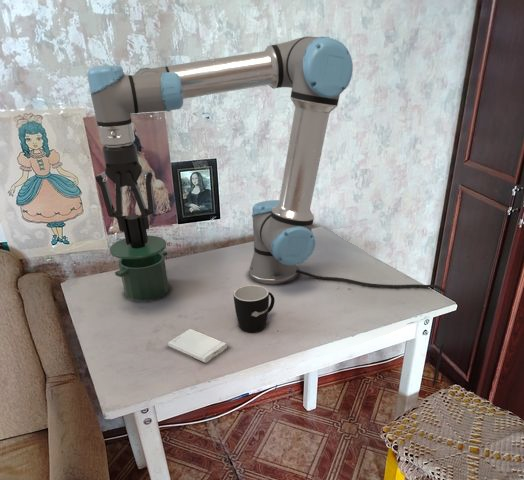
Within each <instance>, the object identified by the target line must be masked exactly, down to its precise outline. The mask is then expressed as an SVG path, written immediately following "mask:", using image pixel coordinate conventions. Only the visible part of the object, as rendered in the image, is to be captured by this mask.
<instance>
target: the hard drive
mask: <svg viewBox="0 0 524 480" xmlns="http://www.w3.org/2000/svg"><path fill="white" fill-rule="evenodd" d="M167 344H168V347H170V348H172V349H174V350H177V351H178V352H181V353H184V354H186V355H188V356H191V357H192V358H194V359H196V360H198V361H200V362H201V363H205V364H206V363H208V362H209V361H211V360H212V359H214V358H215V357H216V356H218V355H220V354H221V353H222V352H224V351H226V350H227V348H228V343H227V342H224V341H222V340H219V339H216V338H214V337H212V336H209V335H207V334H205V333H202V332H199V331H196V330H194V329H193V328H189V329H187V330H186V331H184V332H182V333H181V334H179V335H177V336H175V338H173V339H171V340H170V341H169V342H168V343H167Z"/></svg>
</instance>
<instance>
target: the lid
mask: <svg viewBox="0 0 524 480" xmlns="http://www.w3.org/2000/svg"><path fill="white" fill-rule="evenodd" d="M140 215H141V214H135V213H133V214H128V215H125V216H126V217H125V220H126V225H127V230H128V235H129V240H130V245H127V244H126V239H125V238H123V239H120V240H117V241H115V242H114V243H112V244H111V246H110V247H109V252H110V255H111V256H113V257H114V258H117V259H139V258H145V257H149V256H153V255H156V254H158V253H160V252H161V251H165V249H166V248H167V241H166V240H165V239H164V238H162V237H161V236H157V235H149V234H147V237H148V241H147V243H144V241H143V236H142V230H141V225H140V220H139V218H140Z"/></svg>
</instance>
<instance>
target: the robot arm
mask: <svg viewBox="0 0 524 480" xmlns="http://www.w3.org/2000/svg"><path fill="white" fill-rule="evenodd" d="M353 64H354V63H353V58H352V55H351V53H350V51H349V50H348V47H346V45H345V44H344V43H343V42H342V41H340V40H338V39H336V38H332V37H330V36H311V35H310V36H301V37H298V38H294V39H292V40H289V41H285V42H280V43H277V44H270V45H267V46H266V48H265V50H263V51H256V52H249V53H243V54H236V55H229V56H223V57H217V58H211V59H204V60H198V61H197V60H196V61H190V62H183V63H178V64H170V65H166V66H158V67H153V68H152V67H151V68H150V67H142V68H139V69H138V70H137V71H136V72H134V74H132V75H131V74H125V72H124V69H123V67H122V66H121V65H118V64H117V65H116V64H115V65H99V66H97V65H96V66H91V67H90V68H89V69H88V71H87V81H88V87H89V92H90V98H91V101H92V106H93V111H94V115H95V119H96V125H97V131H98V135H99V140H100V144H102V145H103V146H102V147H101V149H102V154H103V160H104V163H105V169H104V171H102V172H101V173H97V175H96V176H95V181H96V182H97V184H98V185H99V188H100V191H101V195H102V198H103V201H104V206H105V208H106V209H105V210H106V213H107V216H108V217H109V218H115V219H116V220H117V225H118V229H119V232H123V233H124V239H126V244H127V245H130V240H129V235H128V230H127V225H126V220H125V217H126V216H127V215H124V212H123V188H124V187H130V190H131V191H132V193H133V196H134V198H135V201H136V204H137V206H138V209H139V212H140V214H139V215H140V218H139V220H140V225H141V230H142V236H143V241H144V243H147V241H148V237H147V235H148V232H147V230H149V229H150V225H151V224H150V219H149V216H150V215H153V214H154V213H155V210H156V209H155V199H154V191H153V178H154V177H153V176H154V171H153V170H151V169H150V170H147V169H144V168H143V166H142V165H141V163H140V160H139V154H138V149H137V144H136V143H135V141H136V137H135V132H134V127H133V121H132V114H135V115H137V114H145V113H158V112H171V111H176V110H181V109H182V108H183V105H184V100H185V99H191V98H197V97H202V96H203V97H205V96H210V95H216V94H222V93H228V92H234V91H241V90H247V89H254V88H260V87H266V86H269V87H270V88H271V89H273V90H275V89H279V88H291V92H290V100H291V102H292V103H293V105H294V111H293V118H292V123H291V130H290V135H289V142H288V148H287V153H286V158H285V159H286V160H285V165H284V170H283V171H284V172H283V176H282V177H283V178H282V183H281V187H280V193H279V194H280V195H279V199H271V200H264V201H259V202H256V203H255V204H254V205H253V206H252V211H251V212H252V213H251V217H252V234H253V235H252V237H253V255H252V257H251V262H250V265H249V270H248V272H249V277H250V279H251V280H252V281H254V282H256V283H259V284H263V285H282V284H286V283H289V282H292V281H293V280H295V279H296V278H297V277H298V274H300V275H304V276H307V277H310V278H314V279H318V280H327V281H340V282H345V283H346V282H347V283H352V284H356V285H360V286H364V287H365V286H367V287H375V288H388V289H389V288H393V289H402V288H403V289H404V288H421V289H422V288H425V289H426V288H427V289H429V288H431V289H437V290H439V291H440V292H441V293H445V294H446V293H447V292H446V290H445V289H444V288H443V287H441V286H440V285H437V284H418V283H417V284H416V283H415V284H413V283H412V284H383V283H382V284H380V283H371V282H370V283H369V282H364V281H359V280H354V279H350V278H344V277H338V276H337V277H336V276H322V275H315V274H312V273H309V272H307V271H302V270H298V265H301V264H303V263H304V262H305V261H307V260H308V259H309V258H310V257H311V256H312V254H313V253H314V251H315V248H316V238H315V235H314V232H312V229H313V224H314V220H315V216H314V214H313V212H312V211H311V206H312V202H313V197H314V192H315V187H316V181H317V178H318V177H317V176H318V172H319V167H320V163H321V158H322V157H321V156H322V154H323V153H322V152H323V148H324V142H325V137H326V132H327V128H328V122H329V118H330V114H331V112H332V111H334V110H335V109H336V108H338V104H339V100H340V96H341V94H342V93H343V92H344V91H345V90H346V89H347V88H348V87H349V84H350V82H351V80H352V77H353V69H354V67H353V66H354V65H353ZM141 175H142V178H143V180H144V181H145V192H146V200H147V205H146V203H145V200H144V198H143V195H142V192H141V189H140V186H139V182H138V180H139V178H140V176H141ZM108 179H110V180H111V181H112V182H113V184H114V188H115V207H114V204H113V199H112V196H111V193H110V188H109V185H108ZM444 346H445V343H443V344H442V345H441V346H440V348H439V353H438V357H437V360H436V365H435V369H434V374H433V375H434V376H433V380H432V386H433V387H434V386H436V383H437V379H438V373H439V368H440V364H441V359H442V356H443V351H444Z"/></svg>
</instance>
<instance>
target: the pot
mask: <svg viewBox="0 0 524 480" xmlns="http://www.w3.org/2000/svg"><path fill="white" fill-rule="evenodd" d="M166 256H168V251H165V250H163V251H161V252H160V253H158V254H156V255H153V256H149V257H145V258H139V259H121V258H119V260H118V268H119V270H117V271H115V272H114V274H115V275H114V276H117V277H120V278H121V282H122V286H123V291H124V295H125V296H126V297H127V298H129V299H131V300H133V301H148V300H153V299H156V298H160V297H162V296H164V295H166V293H167V292H168V291H169V287H170V285H169V280H168V273H167V266H166V262H165V261H166V260H165V257H166Z"/></svg>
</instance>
